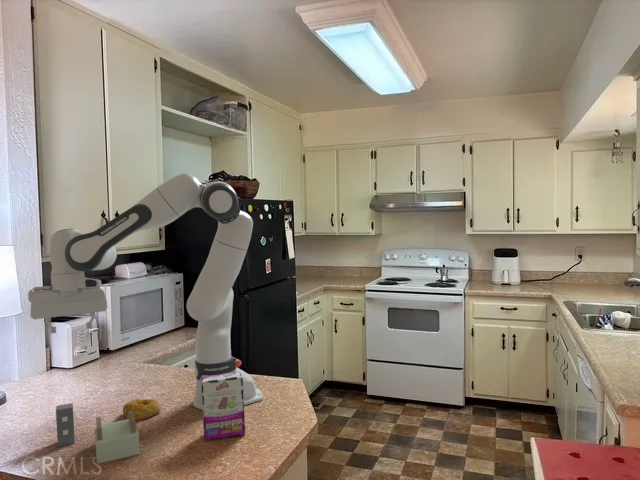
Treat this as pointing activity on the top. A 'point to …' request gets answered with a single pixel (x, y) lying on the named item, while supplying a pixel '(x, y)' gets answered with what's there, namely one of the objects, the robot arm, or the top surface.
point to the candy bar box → (223, 406)
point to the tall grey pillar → (65, 424)
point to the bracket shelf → (116, 439)
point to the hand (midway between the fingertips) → (71, 330)
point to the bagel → (141, 408)
